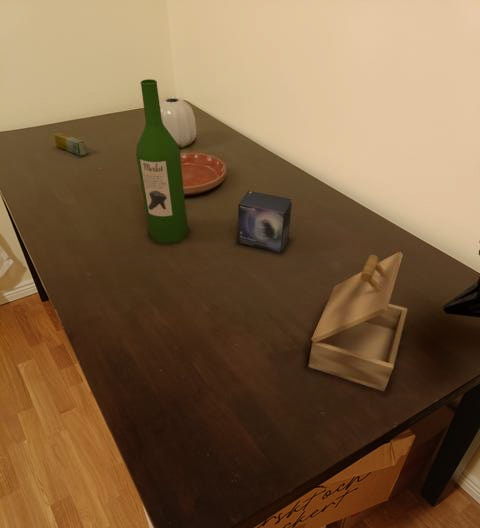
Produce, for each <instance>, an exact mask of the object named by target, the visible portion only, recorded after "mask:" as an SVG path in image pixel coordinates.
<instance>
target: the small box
mask: <svg viewBox="0 0 480 528" xmlns="http://www.w3.org/2000/svg"><path fill="white" fill-rule="evenodd" d="M237 205H238V207H237V209H238V212H237V214H238V215H237V216H238V217H237V219H238V220H237V221H238V223H237V226H238V228H237V230H238V237H237V239H238V244H240V245H245V246H248V247H253V248H256V249H261V250H265V251H269V252H274V253H278V254H282V252H283V250H284V249H285V248H286V246H287V244H288V242H289V241H290V240H289V239H290V236H289V235H290V226H291V215H292V213H291V212H292V205H293V199H292V198H287V197H282V196H277V195H272V194H267V193H262V192H257V191H252V190H247V192H246V193H245V194H244V195H243V196H242V198H241V199H240V200H239V201H238V203H237Z"/></svg>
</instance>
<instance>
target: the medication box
mask: <svg viewBox="0 0 480 528" xmlns="http://www.w3.org/2000/svg"><path fill="white" fill-rule="evenodd" d="M53 135H54V141H55V147H58V148H59V149H61V150H64V151H67V152H69V153H72V154H75V155H77V156H79V157H83V156H86V155H87V154H88V153H87V147H86V141H84V140H82V139H79V138H77V137H74V136H71V135H68V134H66V133H63V132H58V133H54V134H53Z"/></svg>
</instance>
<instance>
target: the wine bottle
mask: <svg viewBox="0 0 480 528" xmlns="http://www.w3.org/2000/svg"><path fill="white" fill-rule="evenodd" d="M140 89H141V95H142V102H143V111H144V118H145V126H144V128H143V131H142V133H141V135H140V137H139V140H138V142H137V144H136V150H135V151H136V153H135V155H136V162H137V168H138V173H139V178H140V179H139V180H140V184H141V191H142V197H143V202H144V208H145V213H146V219H147V220H146V221H147V225H148V232H149V235H150V238H151V239H152V240H153V241H155V242H157V243H160V244H172V243H177V242H180V241H182V240H183V239H185V237H187V235H188V233H189V231H188V230H189V229H188V220H187V210H186V200H185V199H186V198H185V195H184V188H183V178H182V168H181V158H180V153H181V150H180V147H178V144H177V142H176V141H175V140H174V138H173V137H172V136H171V134H170V133H169V132H168V130H167V129H166V128H165V126H164V125H163V123H162V117H161V110H160V96H159V90H158V81H157V80H155V79H152V78H151V79H150V78H147V79H142V80H141V81H140Z"/></svg>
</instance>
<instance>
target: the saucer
mask: <svg viewBox="0 0 480 528" xmlns="http://www.w3.org/2000/svg"><path fill="white" fill-rule="evenodd" d="M180 158H181V168H182V178H183V188H184V196H192V195H198V194H202V193H205V192H207V191H210V190H212V189H214V188H215V187H217V186H219V185H220V184H222V182H224V181H225V179H226V177H227V165H226V164H225V163H224V161H222V159H220V158H218V157H216V156H214V155H210V154H206V153H200V152H199V153H198V152H180Z"/></svg>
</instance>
